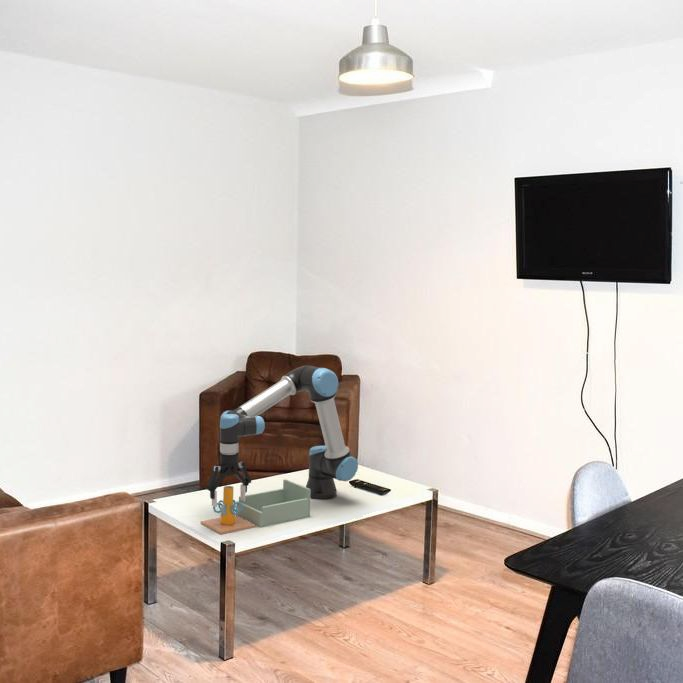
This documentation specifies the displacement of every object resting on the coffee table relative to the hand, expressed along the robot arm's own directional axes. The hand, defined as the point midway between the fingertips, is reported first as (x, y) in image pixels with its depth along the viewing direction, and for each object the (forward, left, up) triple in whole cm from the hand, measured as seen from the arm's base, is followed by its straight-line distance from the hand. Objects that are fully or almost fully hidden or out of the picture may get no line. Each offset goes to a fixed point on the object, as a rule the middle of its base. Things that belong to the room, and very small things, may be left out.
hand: (228, 503), depth 334 cm
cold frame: (-22, 0, -9) cm, 24 cm away
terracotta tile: (0, 0, -9) cm, 9 cm away
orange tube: (0, 0, -8) cm, 8 cm away
